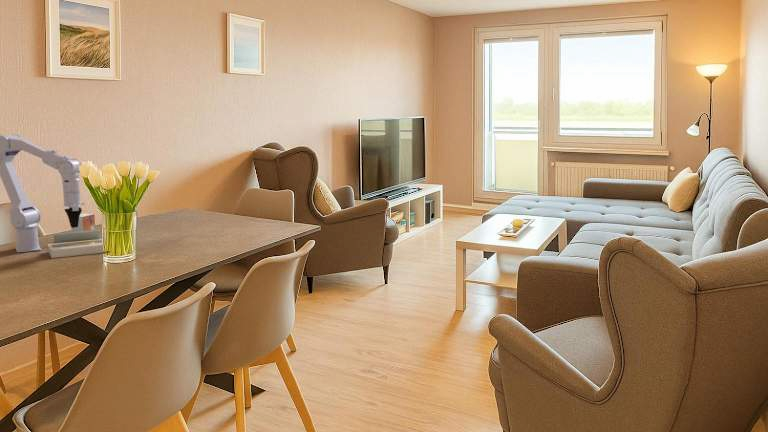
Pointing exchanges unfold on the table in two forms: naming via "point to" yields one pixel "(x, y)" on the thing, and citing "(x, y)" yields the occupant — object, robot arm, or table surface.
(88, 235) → the cover
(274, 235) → the table surface
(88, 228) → the small box
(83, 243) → the yellow rounded bar
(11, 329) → the table surface
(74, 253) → the white sliding drawer case
